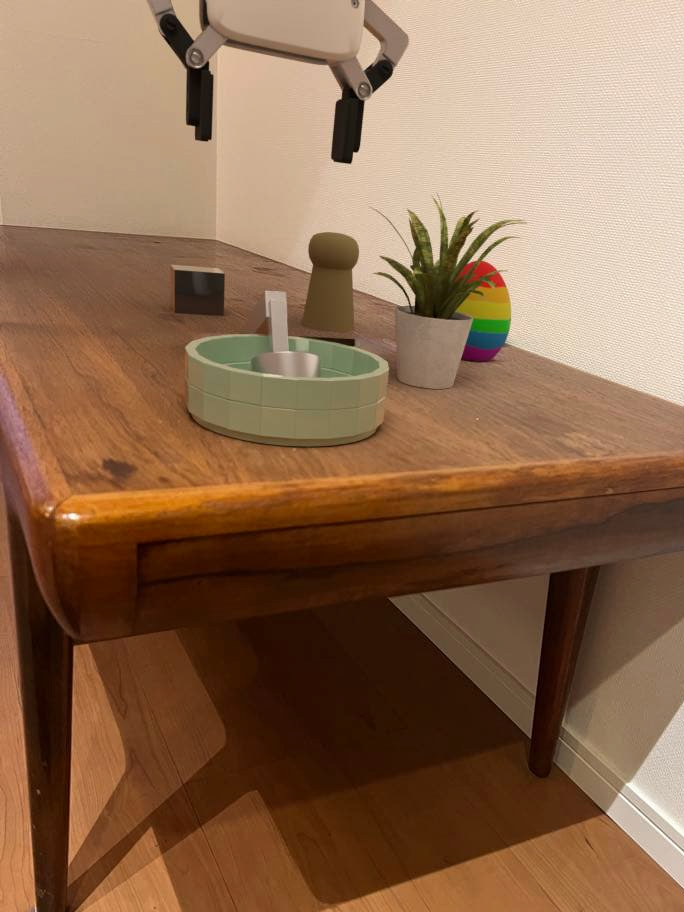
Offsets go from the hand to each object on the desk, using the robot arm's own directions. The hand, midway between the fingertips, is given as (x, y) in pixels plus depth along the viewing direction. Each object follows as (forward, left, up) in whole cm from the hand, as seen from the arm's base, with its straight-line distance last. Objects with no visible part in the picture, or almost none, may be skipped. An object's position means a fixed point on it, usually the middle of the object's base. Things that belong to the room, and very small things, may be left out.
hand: (274, 152), depth 54 cm
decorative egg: (+27, +19, -17) cm, 37 cm away
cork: (+12, +23, -17) cm, 31 cm away
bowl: (+1, -5, -17) cm, 18 cm away
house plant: (+18, +6, -17) cm, 25 cm away
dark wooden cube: (-1, +28, -17) cm, 33 cm away
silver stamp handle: (+1, +1, -19) cm, 19 cm away
